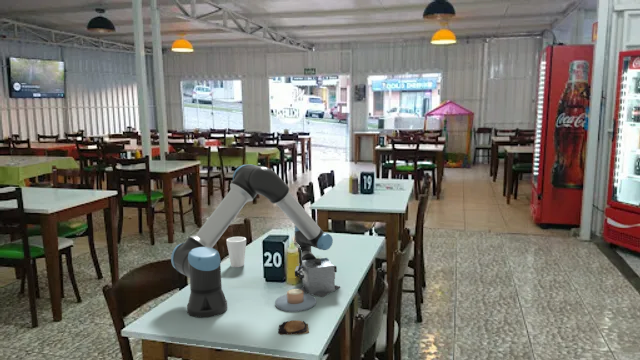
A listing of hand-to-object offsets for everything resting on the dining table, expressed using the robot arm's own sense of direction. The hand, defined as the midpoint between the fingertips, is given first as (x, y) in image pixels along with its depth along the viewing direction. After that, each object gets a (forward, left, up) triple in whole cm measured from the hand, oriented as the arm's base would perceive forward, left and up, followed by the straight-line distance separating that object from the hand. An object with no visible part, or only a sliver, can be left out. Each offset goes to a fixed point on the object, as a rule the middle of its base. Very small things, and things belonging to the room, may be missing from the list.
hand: (320, 277), depth 209 cm
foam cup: (+8, +55, -7) cm, 56 cm away
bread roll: (-33, -11, -7) cm, 35 cm away
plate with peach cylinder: (-14, +2, -6) cm, 16 cm away
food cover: (+3, +3, -6) cm, 7 cm away
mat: (+3, +3, -6) cm, 8 cm away
